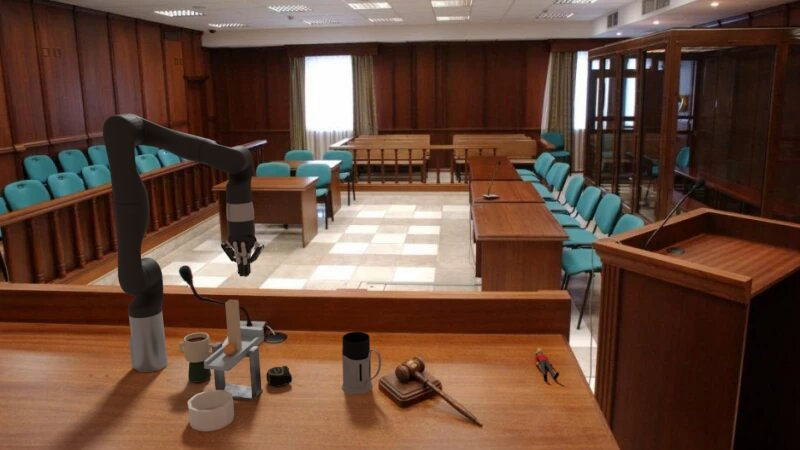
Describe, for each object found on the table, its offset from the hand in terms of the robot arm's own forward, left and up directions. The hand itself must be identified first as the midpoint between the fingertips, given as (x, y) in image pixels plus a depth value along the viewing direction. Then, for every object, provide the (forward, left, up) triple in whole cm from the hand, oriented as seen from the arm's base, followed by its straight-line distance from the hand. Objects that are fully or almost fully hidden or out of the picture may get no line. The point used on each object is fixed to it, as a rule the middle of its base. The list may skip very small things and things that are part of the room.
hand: (244, 275), depth 183 cm
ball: (+4, -18, -16) cm, 25 cm away
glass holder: (+37, -5, -29) cm, 47 cm away
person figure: (+85, +21, -30) cm, 93 cm away
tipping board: (+4, -15, -17) cm, 23 cm away
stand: (+4, -15, -29) cm, 33 cm away
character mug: (-11, -10, -29) cm, 33 cm away
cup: (+4, -29, -29) cm, 41 cm away
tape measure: (+13, -6, -29) cm, 32 cm away
